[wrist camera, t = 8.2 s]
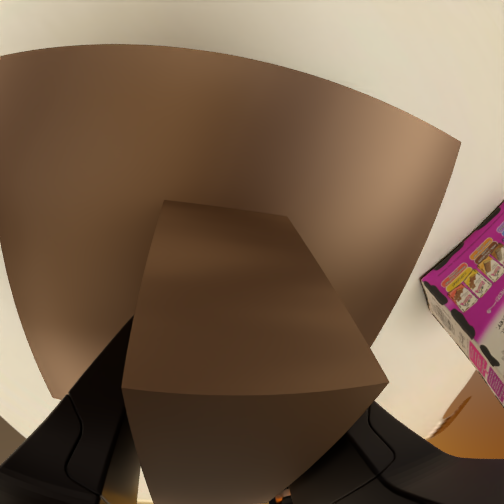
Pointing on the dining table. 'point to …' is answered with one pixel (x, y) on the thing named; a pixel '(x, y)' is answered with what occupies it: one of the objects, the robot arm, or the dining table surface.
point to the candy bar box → (474, 299)
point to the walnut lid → (212, 248)
